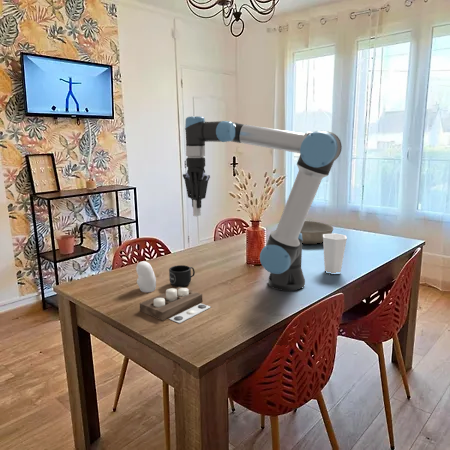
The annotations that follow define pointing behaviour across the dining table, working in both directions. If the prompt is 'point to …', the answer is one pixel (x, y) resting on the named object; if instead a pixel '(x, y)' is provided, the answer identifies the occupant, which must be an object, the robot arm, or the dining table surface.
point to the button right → (183, 292)
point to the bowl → (314, 232)
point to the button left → (159, 302)
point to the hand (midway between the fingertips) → (196, 215)
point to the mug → (180, 275)
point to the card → (189, 313)
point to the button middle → (171, 295)
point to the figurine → (145, 277)
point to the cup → (333, 251)
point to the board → (170, 305)
